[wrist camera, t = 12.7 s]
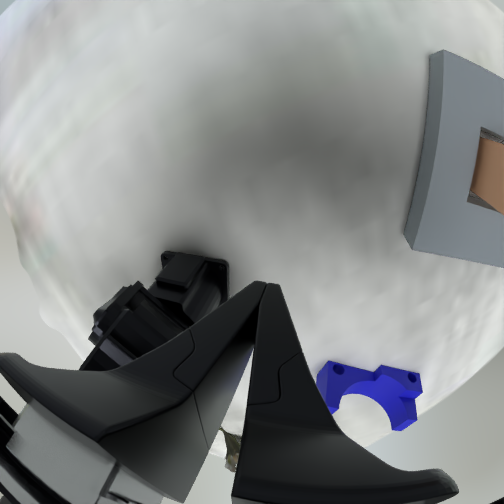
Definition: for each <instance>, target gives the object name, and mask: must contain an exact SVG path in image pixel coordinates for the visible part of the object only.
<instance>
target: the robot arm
mask: <svg viewBox="0 0 504 504" xmlns="http://www.w3.org/2000/svg"><path fill="white" fill-rule="evenodd" d="M165 256H167V258H166V257H165ZM161 261H162V268H163V270H162V271H161V272H160V273H159V274H158V275H157V276H156V278H155V280H156V281H155V282H154V283H153V284H152V285H151V287H150V288H149V289H148V290H147V289H145V288H144V287H143V284H142V283H141V282H139V281H137V282H136V283H135V284H134V285H133V286H132V285H130V286H129V287H124V286H123V287H122V288H121V289H120V290H119V292H118V293H117V294H116V295H115V296H114V297H113V298H112V299H111V300H109V301H108V302H107V303H105V304H104V305H103V306H101V307H100V308H99V309H98V310H97V311H96V312H95V313H94V315H93V317H94V326H93V328H92V331H93V332H92V333H91V335H90V336H89V338H88V340H90V341H91V342H92V343H93V344H94V345H95V348H94V349H93V350H92V352H91V353H90V354H89V356H88V357H87V358H86V360H85V361H84V363H83V364H82V365H81V367H80V369H79V370H66V369H55V368H46V367H41V366H37V365H34V364H31V363H29V362H27V361H26V360H25V359H23V358H22V357H21V356H20V355H18V354H16V353H0V373H1V374H2V375H3V376H4V378H5V379H6V380H7V381H8V383H9V384H10V385H11V386H12V387H13V388H14V390H15V391H16V392H17V393H18V394H19V395H20V396H21V397H22V398H23V399H24V401H25V402H27V404H26V406H25V407H24V408H23V410H22V411H21V413H20V414H19V415H18V414H17V413H16V412H15V411H14V410H13V409H12V408H11V407H10V406H9V405H8V404H7V403H6V402H5V401H4V400H3V398H2V397H1V396H0V492H1V493H2V494H3V495H4V496H2V498H1V499H0V504H160V503H161V501H162V499H163V497H167V498H169V499H172V500H174V501H177V502H180V503H184V501H185V500H186V497H187V496H188V494H189V492H190V490H191V487H192V486H193V484H194V481H195V479H196V477H197V475H198V473H199V471H200V469H201V467H202V465H203V463H204V461H205V459H206V456H207V454H208V452H209V450H210V448H211V446H212V443H213V441H214V439H215V437H216V435H217V432H218V430H219V428H220V426H221V424H222V421H223V419H224V417H225V415H226V412H227V410H228V408H229V405H230V403H231V401H232V399H233V396H234V394H235V392H236V389H237V387H238V385H239V382H240V380H241V377H242V375H243V373H244V370H245V368H246V366H247V363H248V361H249V358H250V356H251V353H252V351H253V348H254V351H253V359H252V367H251V375H250V383H249V391H248V399H247V408H246V414H245V421H244V428H243V433H242V439H241V445H240V451H239V456H238V462H237V467H236V473H235V479H234V483H233V489H232V493H231V499H232V504H437V503H439V502H442V501H444V500H446V499H449V498H451V497H453V496H455V495H457V494H458V493H459V489H458V486H457V484H456V483H455V481H454V480H453V479H452V478H451V477H450V476H449V475H448V474H447V473H445V472H444V471H443V470H441V469H428V470H420V471H404V470H400V469H397V468H394V467H392V466H390V465H388V464H387V463H385V462H383V461H382V460H381V459H379V458H377V457H376V456H375V455H373V454H372V453H370V452H368V451H367V450H366V449H364V448H363V447H362V446H360V445H359V444H357V443H356V442H354V441H353V440H352V439H350V438H349V437H348V436H346V435H345V434H344V433H343V431H342V430H341V429H340V428H339V426H338V425H337V423H336V422H335V420H334V418H333V416H332V414H331V412H330V410H329V408H328V407H327V405H326V403H325V401H324V399H323V397H322V395H321V393H320V391H319V389H318V387H317V385H316V383H315V381H314V379H313V377H312V375H311V373H310V370H309V367H308V365H307V362H306V359H305V356H304V353H303V352H302V348H301V345H300V342H299V339H298V336H297V333H296V330H295V327H294V324H293V322H292V319H291V316H290V313H289V310H288V307H287V304H286V301H285V299H284V296H283V293H282V290H281V287H280V285H279V284H274V283H268V284H267V283H266V282H262V281H254V282H252V283H251V284H249V285H248V286H247V287H245V288H244V289H243V290H241V291H240V292H238V293H237V294H236V295H234V296H233V297H231V298H230V299H229V266H228V264H227V262H225V261H222V260H216V259H210V258H204V257H202V256H196V255H190V254H184V253H174V252H169V251H165V252H163V253H162V254H161ZM221 265H222V266H223V267H224V268H222V267H221ZM490 504H504V497H503V498H501V499H499V500H497V501H494V502H492V503H490Z"/></svg>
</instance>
